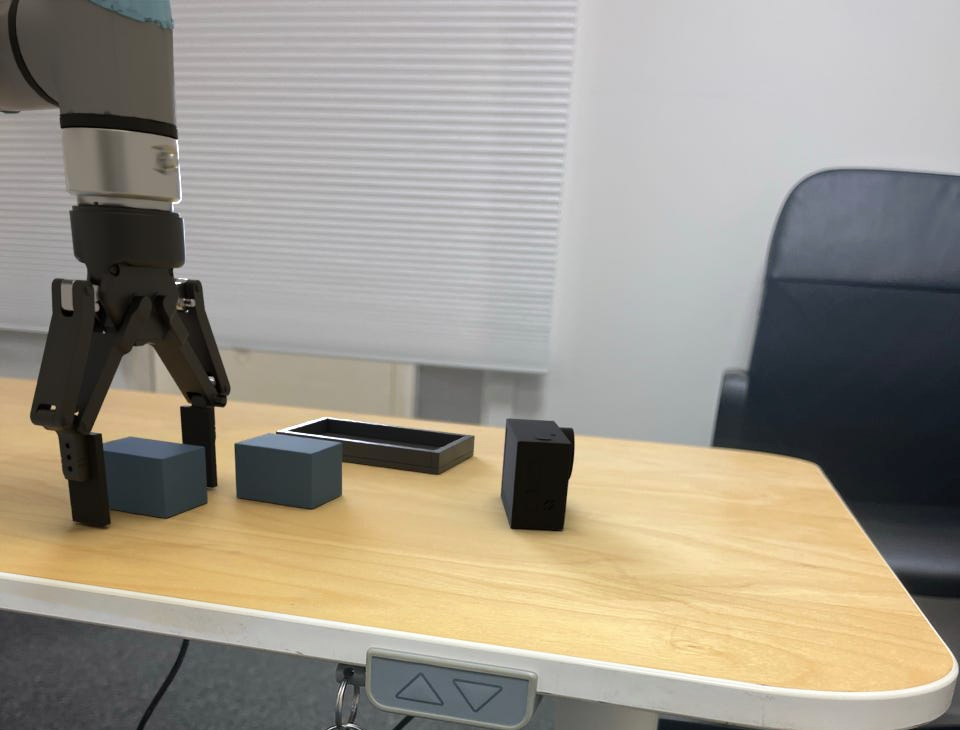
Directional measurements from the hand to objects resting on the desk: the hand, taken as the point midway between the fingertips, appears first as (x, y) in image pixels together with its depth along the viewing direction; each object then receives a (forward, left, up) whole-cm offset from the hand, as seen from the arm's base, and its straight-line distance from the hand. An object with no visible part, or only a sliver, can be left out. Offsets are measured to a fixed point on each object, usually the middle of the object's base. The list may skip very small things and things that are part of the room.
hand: (151, 503), depth 72 cm
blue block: (0, 0, 0) cm, 0 cm away
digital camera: (+28, +14, 0) cm, 31 cm away
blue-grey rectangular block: (+8, +8, 0) cm, 11 cm away
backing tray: (+7, +28, 0) cm, 29 cm away
